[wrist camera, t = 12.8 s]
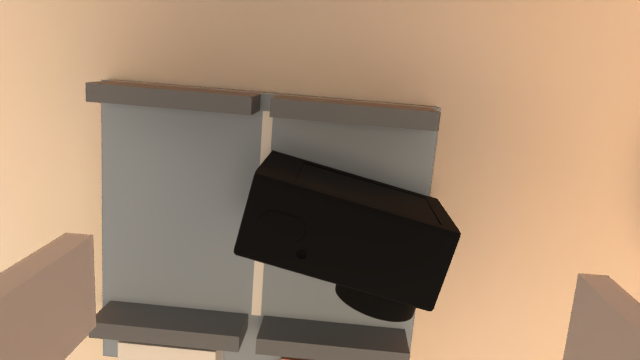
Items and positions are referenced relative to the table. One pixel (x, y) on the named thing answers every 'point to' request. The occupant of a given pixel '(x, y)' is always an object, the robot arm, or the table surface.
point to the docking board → (234, 220)
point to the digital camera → (349, 235)
